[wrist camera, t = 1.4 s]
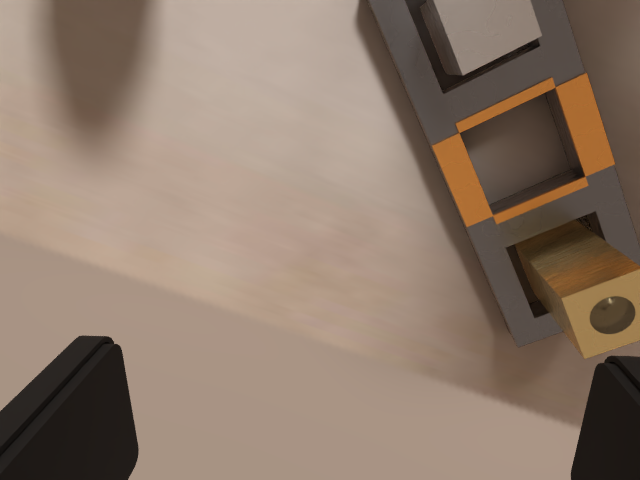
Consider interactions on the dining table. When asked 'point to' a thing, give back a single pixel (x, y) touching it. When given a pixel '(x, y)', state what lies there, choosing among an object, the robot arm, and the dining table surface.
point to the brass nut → (584, 286)
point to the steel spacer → (478, 30)
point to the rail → (539, 200)
